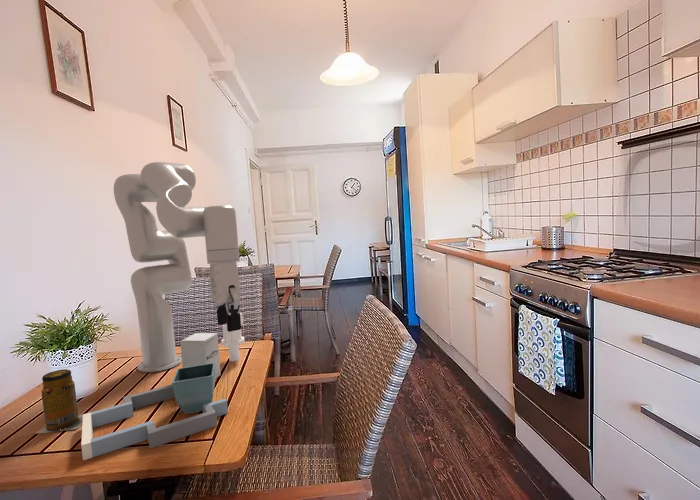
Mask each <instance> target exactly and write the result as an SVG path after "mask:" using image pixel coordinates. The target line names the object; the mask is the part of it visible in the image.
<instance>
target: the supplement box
mask: <svg viewBox="0 0 700 500" xmlns="http://www.w3.org/2000/svg"><path fill="white" fill-rule="evenodd" d="M179 343H180V352H181V353H180V354H181V355H180V356H181V357H182V361H181V365H182V367H181V368H185V367H191V366H197V365H203V364H209V363H215V380H217V378H218V377H220V376H221V361H220V360H221V359H220V349H219V347H220V346H219V337H218V333H217V332H207V333H206V332H202V333H201V332H195V333H193V334H191V335H189V336H187V337H186V338H185V337H184V338H183V339H182V340H180V341H179Z"/></svg>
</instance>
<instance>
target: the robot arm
mask: <svg viewBox="0 0 700 500" xmlns="http://www.w3.org/2000/svg"><path fill="white" fill-rule="evenodd" d="M196 182H197V177H196V174H195V172H194V170H193V168H191V167H190V166H189V165H187V164H184V163H175V162H165V161H164V162H162V161H153V162H149V163H147V164H145V165H144V166H143V167H142V169H141V171H140V173H127V174H121V175H120V176H118V177H117V178H115V181H114V183H113V196H114V197H113V198H114V201H115V202H116V205H117V207H118V210H119V211H120V214H121V215H122V218H123V220H124V223H125V229H126V234H127V239H128V245H129V250H130V253H131V256H132V259H133V260H134V261H135V262H137V263H153V262H163V261H167V262H168V264H167V263H166V264H158V265H157V264H156V265H152V266H151V265H149V266H144V267H141V268H139V269H137V270H135V271H134V272H133V273H132V274H131V276H130V284H131V289H132V292H133V295H134V299H135V304H136V309H137V310H136V311H137V319H138V326H139V327H138V328H139V329H138V330H139V337H140V347H141V357H142V361H141V362H140V363H138V364H137V370H138V371H139V372H141V373H156V372H161V371H166V370H169V369H171V368H174V367H177V366H178V365H180V364H182V355H179V354H177V351H176V342H175V331H174V330H175V329H174V320H173V310H172V307H171V305H170V304H169V303H168V301H166V300H165V298H164V297H163V296H166V295H169V294H175V293H181V292H184V291H187V290H188V289H189V288H190V287H191V285H192V272H191V271H192V270H191V266H190V262H189V261H190V260H189V257H188V251H187V246H186V242H185V240H184V239H188V238H195V237H196V238H197V237H204V239H205V240H204V241H205V250H206V263H207V264H208V265H209V286H210V288H209V289H210V299H211V300H212V301H213V302H214V303H216V304H215V305H216V306H215V307H216V317H217V324H218V325H219V326H223V325H226V324H227V331H228V332H231V331H236V330H240V329H241V330H242V325H241V319H240V313H241V309H240V302H241V285H240V276H239V270H238V264H237V263H238V262H240V250H239V240H238V239H239V237H238V226H237V224H238V223H237V215H236V209H235V207H233V206H231V205H226V204H225V205H222V204H221V205H211V206H210V205H209V206H187V205H188V204H189V203H190V201H191V200H192V196H193V190H194V189H195V186H196ZM142 203H156V207H155V209H156V215H157V219H158V221H159V224H160V225H161V226H162V227H163V228H164V230H163V231H162V230H161V231H160V230H159V229H158V226H157V222H156V221H157V220H156V216H155V215H154V214H153V212H151V210H150V209H149V208H148V207H147V206H145V205H144V204H142Z"/></svg>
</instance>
